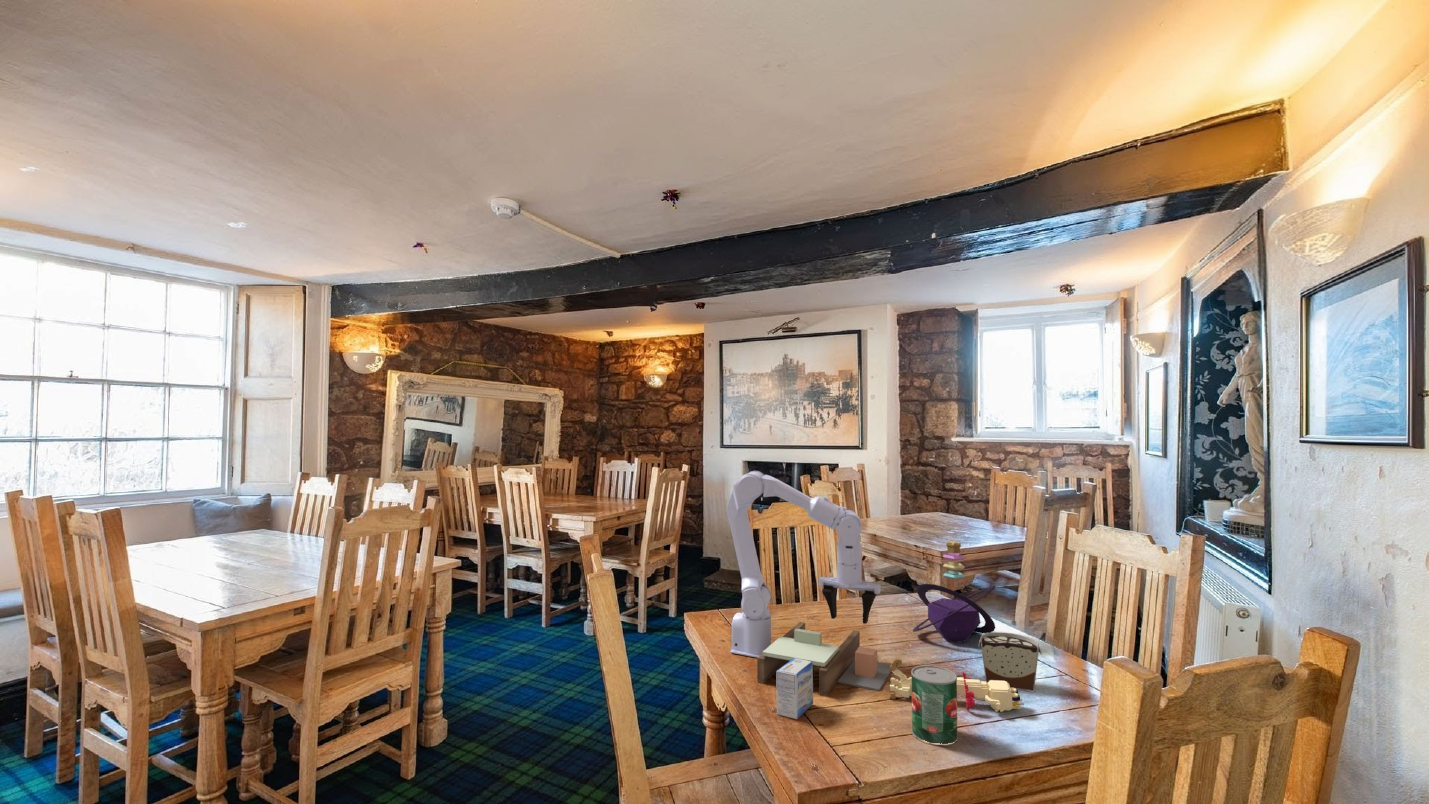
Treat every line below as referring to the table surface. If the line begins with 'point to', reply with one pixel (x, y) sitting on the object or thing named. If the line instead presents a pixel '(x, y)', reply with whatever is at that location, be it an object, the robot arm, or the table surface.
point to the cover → (802, 648)
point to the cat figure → (964, 690)
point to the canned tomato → (934, 704)
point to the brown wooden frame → (826, 674)
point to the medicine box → (794, 688)
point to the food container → (1010, 659)
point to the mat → (862, 681)
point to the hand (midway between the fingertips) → (849, 620)
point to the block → (866, 662)
